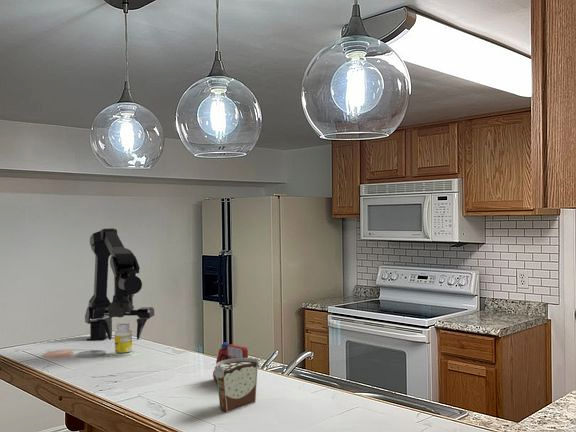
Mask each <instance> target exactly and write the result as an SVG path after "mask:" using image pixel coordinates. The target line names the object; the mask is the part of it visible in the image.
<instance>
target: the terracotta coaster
mask: <svg viewBox="0 0 576 432" xmlns="http://www.w3.org/2000/svg"><path fill="white" fill-rule="evenodd" d="M72 355H74V351H73V350H70V349H63V350H62V349H60V350H59V349H58V350H52V351H47V352H45V353H43V357H44V356H45V357H44V358H48V357H50V358H51V359H54V358H55V357H57V358H63V357H64V356H65V357H68V356H72Z"/></svg>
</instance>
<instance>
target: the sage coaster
mask: <svg viewBox="0 0 576 432" xmlns="http://www.w3.org/2000/svg"><path fill="white" fill-rule="evenodd" d="M134 352H135V351H133V350H132V354H130V355H125V356H118V355H116V354H115V352H114V353H111V354H109V357H112V358H119V359H121V358H130V357H134V356H135V354H134ZM135 357H136V356H135Z"/></svg>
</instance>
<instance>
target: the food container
mask: <svg viewBox="0 0 576 432" xmlns="http://www.w3.org/2000/svg"><path fill="white" fill-rule="evenodd" d="M258 360H259V359H258V358H252V357H247V358H234V359H227V360H223V361H220V362H218V363H217V364H215V366H214V370H213V372H214V375H215V376H216V377H217V382H218V384H217V391H218V398H219V399H218V401H219V409H220V411H221V412H223V413H226V414H228V413H231V412H234V411H237V410H239V409H242V408H245V407H248V406H250V405H253V404H256V400H257V383H258V368H260V361H258Z"/></svg>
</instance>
